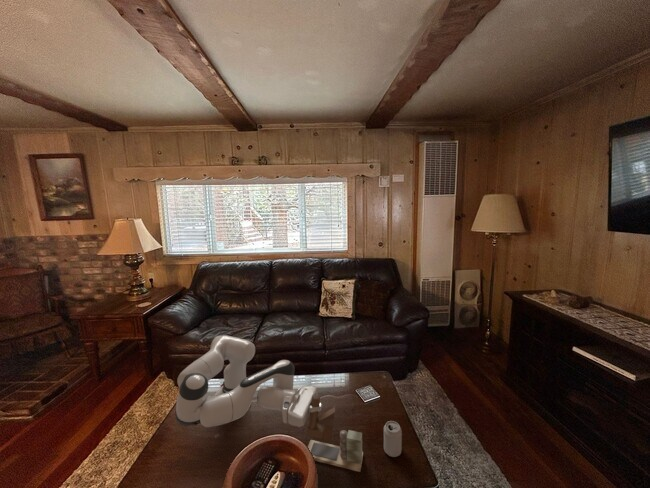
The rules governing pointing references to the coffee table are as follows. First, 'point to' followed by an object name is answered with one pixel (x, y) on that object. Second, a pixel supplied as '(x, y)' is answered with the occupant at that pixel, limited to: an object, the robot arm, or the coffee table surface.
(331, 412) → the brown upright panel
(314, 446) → the hinge jig
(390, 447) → the can
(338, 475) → the coffee table surface
